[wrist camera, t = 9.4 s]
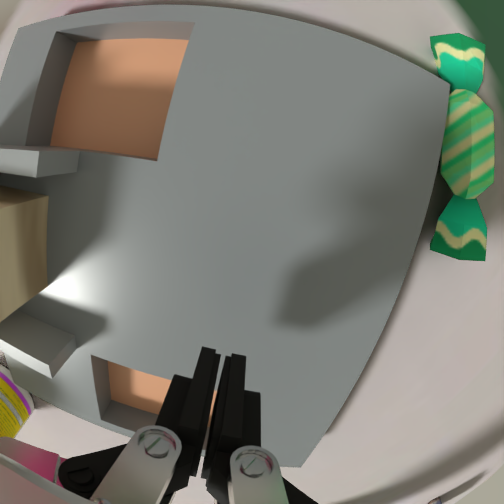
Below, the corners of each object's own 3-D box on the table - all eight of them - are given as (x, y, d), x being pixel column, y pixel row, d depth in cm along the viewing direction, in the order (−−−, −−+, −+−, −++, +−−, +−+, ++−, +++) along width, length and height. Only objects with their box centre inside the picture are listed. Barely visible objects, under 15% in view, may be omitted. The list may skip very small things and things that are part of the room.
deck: (425, 92, 12) (519, 65, 5) (297, 443, 19) (306, 520, 12) (40, 37, 11) (-34, 9, 4) (28, 367, 18) (-16, 418, 11)
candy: (478, 249, 14) (488, 267, 11) (430, 239, 16) (429, 255, 12) (479, 62, 10) (487, 36, 7) (431, 56, 12) (428, 27, 9)
